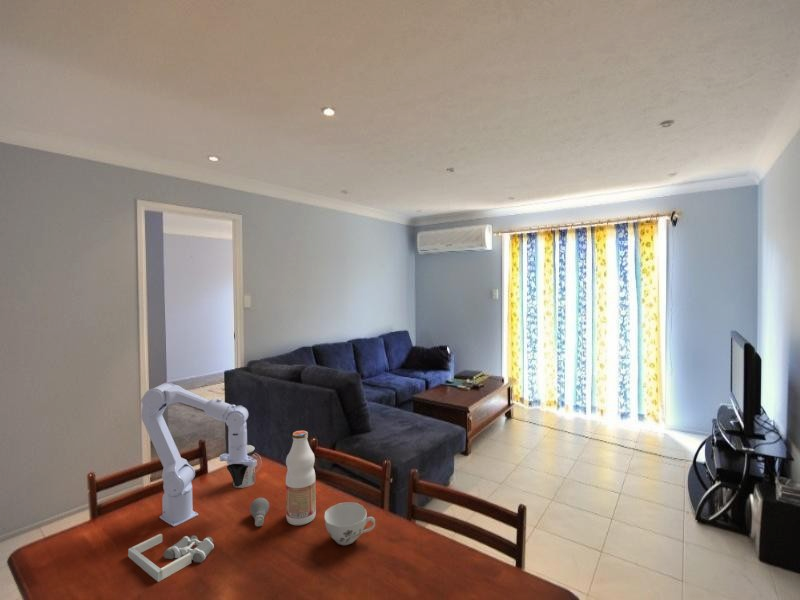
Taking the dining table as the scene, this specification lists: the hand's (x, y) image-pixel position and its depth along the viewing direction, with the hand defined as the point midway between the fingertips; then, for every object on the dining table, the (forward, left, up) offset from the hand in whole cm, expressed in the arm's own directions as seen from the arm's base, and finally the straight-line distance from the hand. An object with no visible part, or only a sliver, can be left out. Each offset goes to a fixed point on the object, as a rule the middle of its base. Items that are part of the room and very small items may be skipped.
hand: (238, 485), depth 131 cm
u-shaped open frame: (+2, -23, -10) cm, 25 cm away
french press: (-16, +14, -10) cm, 24 cm away
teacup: (+40, +10, -10) cm, 42 cm away
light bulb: (+13, -1, -9) cm, 15 cm away
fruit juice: (+19, +10, -10) cm, 24 cm away
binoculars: (+6, -19, -10) cm, 22 cm away
